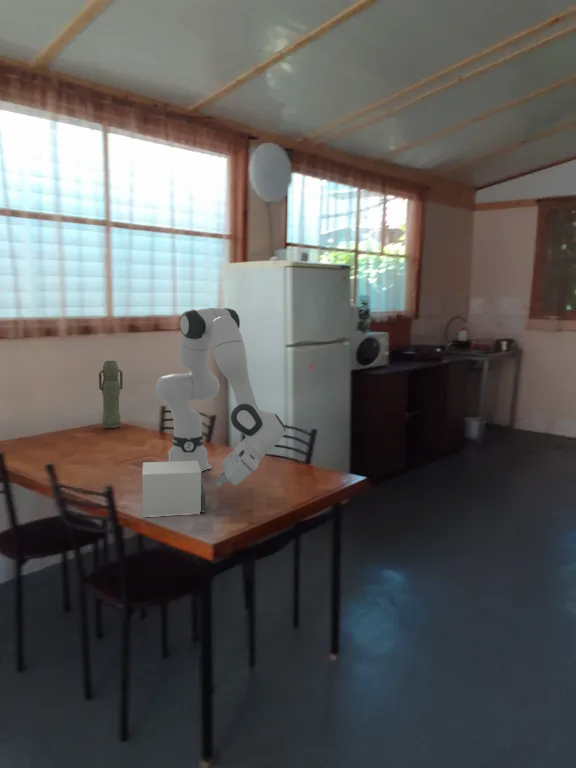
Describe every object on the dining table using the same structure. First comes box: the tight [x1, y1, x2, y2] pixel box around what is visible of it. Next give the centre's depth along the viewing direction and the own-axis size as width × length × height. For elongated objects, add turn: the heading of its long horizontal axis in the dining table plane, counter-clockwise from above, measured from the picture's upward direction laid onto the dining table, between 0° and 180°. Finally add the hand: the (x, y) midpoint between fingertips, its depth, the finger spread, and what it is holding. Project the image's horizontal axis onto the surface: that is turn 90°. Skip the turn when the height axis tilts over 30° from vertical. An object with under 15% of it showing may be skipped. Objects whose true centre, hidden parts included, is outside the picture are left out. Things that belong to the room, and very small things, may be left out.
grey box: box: [141, 461, 202, 517], centre depth 195 cm, size 14×18×14 cm
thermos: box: [98, 360, 124, 429], centre depth 314 cm, size 9×12×35 cm
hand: (217, 484), depth 199 cm, fingers closed
